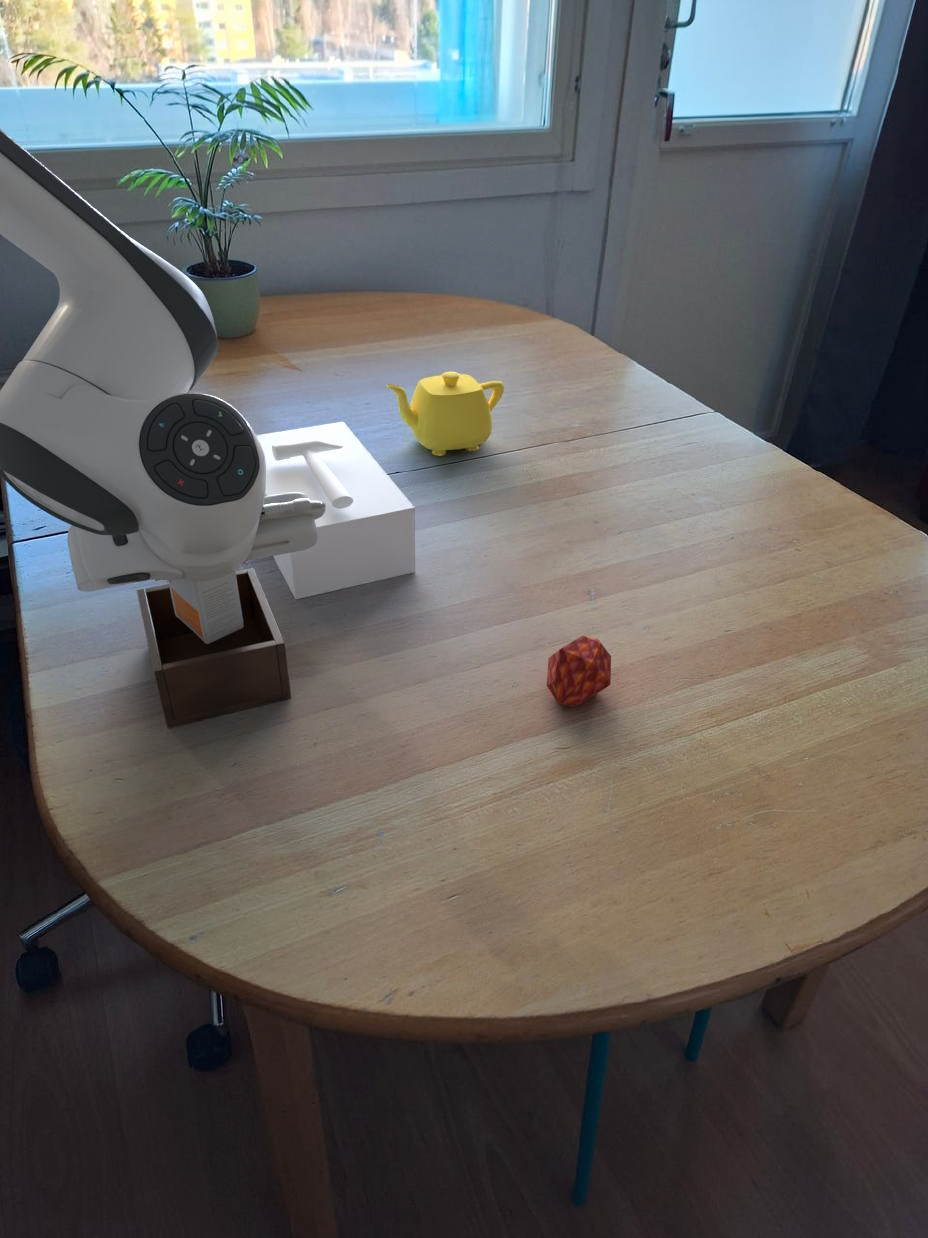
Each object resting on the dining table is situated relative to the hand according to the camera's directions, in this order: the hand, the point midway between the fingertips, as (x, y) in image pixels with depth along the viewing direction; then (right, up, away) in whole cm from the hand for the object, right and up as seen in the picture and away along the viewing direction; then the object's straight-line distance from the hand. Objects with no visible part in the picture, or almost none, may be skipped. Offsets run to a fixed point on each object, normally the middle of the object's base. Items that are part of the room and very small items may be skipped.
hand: (197, 564), depth 80 cm
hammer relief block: (+7, +5, +29) cm, 30 cm away
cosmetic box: (0, -6, +3) cm, 7 cm away
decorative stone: (+36, -12, +6) cm, 38 cm away
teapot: (+22, +21, +50) cm, 59 cm away
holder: (0, -10, +7) cm, 12 cm away
